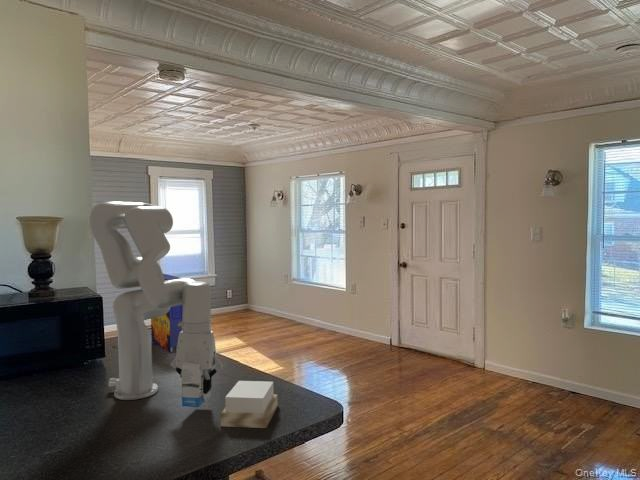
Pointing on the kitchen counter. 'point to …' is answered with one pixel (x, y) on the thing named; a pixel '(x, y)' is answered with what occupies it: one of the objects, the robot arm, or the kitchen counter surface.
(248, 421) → the lower block
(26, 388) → the kitchen counter surface
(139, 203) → the robot arm
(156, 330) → the cereal box
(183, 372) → the ink box
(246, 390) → the upper block
